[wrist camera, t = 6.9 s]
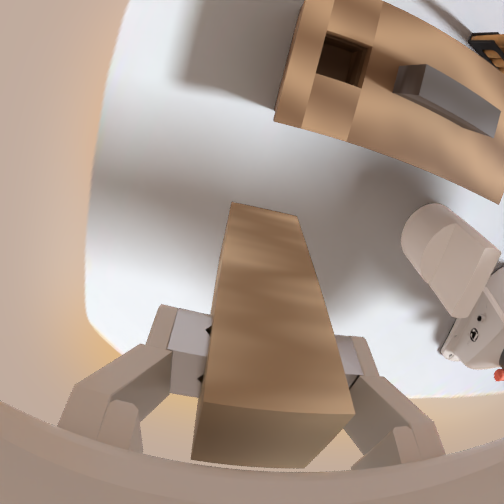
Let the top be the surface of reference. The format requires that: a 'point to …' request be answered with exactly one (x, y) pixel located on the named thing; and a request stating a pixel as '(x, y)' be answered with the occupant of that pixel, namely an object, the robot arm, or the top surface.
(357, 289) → the top surface
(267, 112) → the top surface
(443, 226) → the base with upright slab
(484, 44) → the ammunition clip
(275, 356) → the pin
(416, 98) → the lid
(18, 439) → the robot arm
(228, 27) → the top surface
